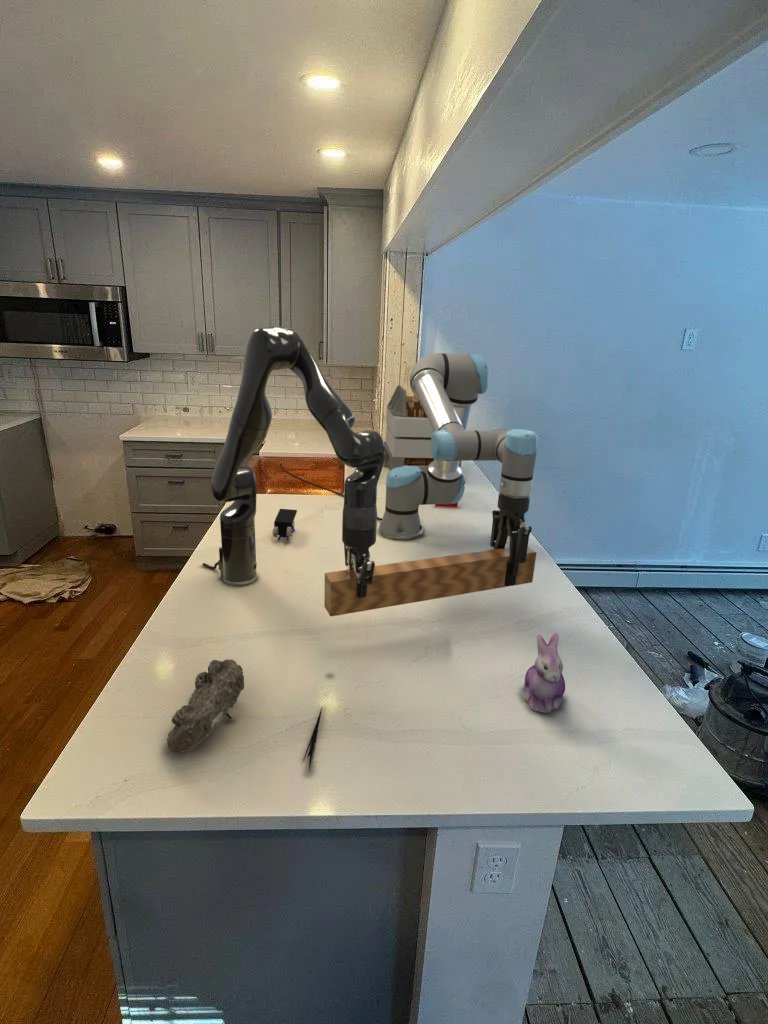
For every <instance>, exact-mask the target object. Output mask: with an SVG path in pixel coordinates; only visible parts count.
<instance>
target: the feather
mask: <svg viewBox="0 0 768 1024" xmlns="http://www.w3.org/2000/svg"><path fill="white" fill-rule="evenodd" d="M329 675H330V676H331V675H332V674H331V673H330V674H329ZM322 710H323V707H321V708H320V710H319V713H318V716H317V719H316V723H315V725H314V728H313V731H312V733H311V737H310V739H309V742H308V745H307V748H306V751H305V754H304V757H303V760H302V763H301V767H302V765H303V763H304V761H305V758H308V759H309V760H308V762H307V763H308V764H307V766H308V771H310V770H311V766H312V765H311V764H312V760H313V757H315V756H314V755H315V751H316V749H315V746H317V739H318V733H319V729H320V722H321V717H322V712H323V711H322ZM313 754H314V755H313ZM306 755H307V757H306Z"/></svg>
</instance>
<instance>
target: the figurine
mask: <svg viewBox="0 0 768 1024" xmlns="http://www.w3.org/2000/svg"><path fill="white" fill-rule="evenodd" d="M536 645H537V656H536V658H535V661H534V665H532V666H530V667H529V668H528V669H527V670H526V673H525V676H524V684H523V697H524V699H525V700H526V702H527V703H528V705H529V707H530V709H532V710H533V711H535V712H540V713H546V714H547V713H548V714H549V713H551V711H553V710H558V708H560V705H561V703H562V701H563V697H564V694H565V692H566V680H565V677H564V675H563V670H564V664H563V661H562V659H561V657H560V654H559V651H558V648H559V634H558V633H557V632H554V633H553V634H552V635H551V637H550V640H549V641H548V643H547V642H546V640H545V638H544V637H543V636H542V635H541V634H539V633H538V634H537V635H536Z"/></svg>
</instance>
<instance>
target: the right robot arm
mask: <svg viewBox="0 0 768 1024" xmlns="http://www.w3.org/2000/svg"><path fill="white" fill-rule="evenodd" d="M409 386H410V390H411V392H412V394H413V395H414V396H415V397H417V398H419V399H420V402H421V404H422V406H423V409H424V411H425V413H426V416H427V418H428V420H429V423H430V425H431V427H432V430H433V432H434V433H433V434H432V437H431V453H432V456H433V458H434V461H433V462H431V463H430V464H429V465H428V466H427V470H423V471H422V469H421V467H420V466H407V465H404V466H402V467H397V468H394V469H392V470H390V469H389V470H388V472H387V475H386V480H385V504H384V505H385V507H384V508H385V509H384V513H383V515H382V517H378V516H377V521H381V522H379V525H378V533H379V534H380V535H381V536H382V537H385V538H387V539H389V540H395V541H410V540H415V539H418V538H420V537H421V536H422V535H423V525H422V524H421V518H420V515H419V507H420V506H422V505H423V506H424V505H425V506H426V505H428V506H429V505H435V504H444V505H447V504H455V503H457V502H458V503H459V502H460V501H461V500H462V498H463V496H464V493H465V489H466V485H465V484H466V477H465V474H464V472H462V467H461V468H460V467H459V461H463V462H464V461H465V462H467V461H468V462H469V461H476V462H478V461H479V462H481V461H485V462H486V461H497V462H499V463H501V471H500V472H501V473H500V483H499V494H498V498H497V508H498V509H493V510H492V511H491V512H492V513H491V515H492V523H491V524H492V526H491V531H490V540H489V541H490V542H489V546H490V547H491V548H493V550H494V549H501V548H506V544H507V541H508V540H509V541H508V543H509V547H510V561H507V569H506V577H505V586H508V587H512V586H511V585H514V586H516V585H515V582H516V575H517V574H518V567H519V564H521V563H525V562H526V555H527V548H528V547H529V539H530V535H531V533H532V531H533V530H532V529H533V528H532V526H531V525H527V524H526V523H525V522H526V518H525V514H526V513H528V511H529V510H530V501H531V497H530V495H531V494H532V489H533V482H534V481H533V480H534V479H533V478H534V472H535V465H536V459H537V453H538V450H539V449H538V440H539V437H538V434H537V432H535V431H533V430H529V429H525V428H524V429H523V428H522V429H521V428H513V429H512V428H511V429H509V430H508V429H506V428H504V427H503V428H502V427H492V428H490V429H488V430H471V429H470V430H469V429H468V430H467V427H468V422H469V418H470V414H471V409H472V405H474V404H476V403H477V401H478V398H479V396H480V395H483V394H485V393H486V392H487V391H488V387H489V368H488V364H487V361H486V359H485V358H484V357H483V356H482V355H480V354H472V353H442V352H433V353H429V354H427V355H425V356H423V357H422V358H420V359H419V360H418V361H417V362H416V363H415V364H414V365H413V367H412V369H411V371H410V375H409ZM279 467H280V469H281V470H282V471H283V472H284V473H286V474H287V475H289V476H291V477H292V478H295V479H296V480H298V481H301V482H303V483H306V484H309V485H312V486H313V487H316V488H319V489H322V490H324V491H328V492H331V493H333V494H335V495H339V496H341V497H343V498H344V493H341V492H338V491H335V490H333V489H330V488H327V487H324V486H323V485H319V484H316V483H314V482H311V481H308V480H306V479H303V478H301V477H298V476H296V475H295V474H293V473H291V472H289V471H288V470H286V469H285V468H284V467H283V464H282V463H279Z"/></svg>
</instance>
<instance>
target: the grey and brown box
mask: <svg viewBox="0 0 768 1024" xmlns="http://www.w3.org/2000/svg"><path fill="white" fill-rule="evenodd" d="M407 394H408V393H407V390H406V389H404V388H403V387H402V385H399V384H398V385H397V386H396V388H395V390H394V392H393V394H392V395H391V398H390V400H389V402H388V404H387V405H386V413H385V414H386V415H385V423H386V428H385V438H384V443H385V449H386V453H385V459H384V463H383V466H384V467H388V468H389V471H390V470H392V469H394V468H397V467H402V466H416V467H428V466H429V464H430V463H431V462H433V461H434V458H433V456H432V453H431V437H432V434H433V433H434V432H433V430H432V427H431V425H430V423H429V420H428V418H427V416H426V413H425V411H424V409H423V406H422V404H421V402H420V399H419V398H417V397H416V396H415V395H414V396H413V395H412V396H411V395H407ZM459 467H460V468H461V469H462V461H459Z"/></svg>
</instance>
